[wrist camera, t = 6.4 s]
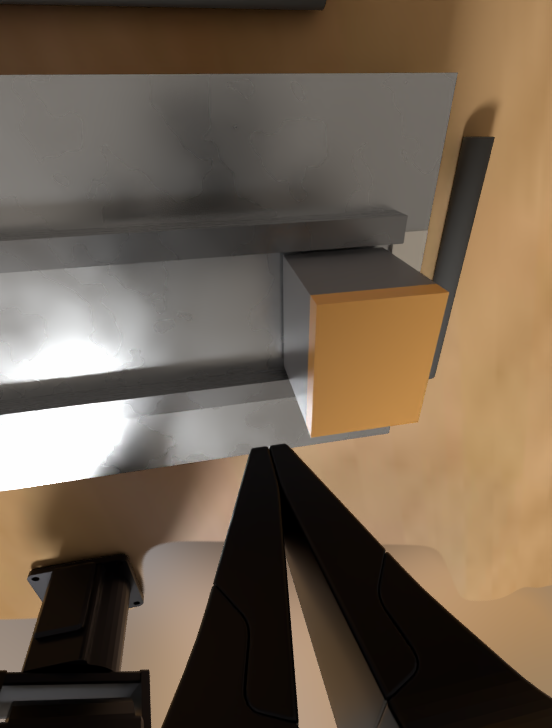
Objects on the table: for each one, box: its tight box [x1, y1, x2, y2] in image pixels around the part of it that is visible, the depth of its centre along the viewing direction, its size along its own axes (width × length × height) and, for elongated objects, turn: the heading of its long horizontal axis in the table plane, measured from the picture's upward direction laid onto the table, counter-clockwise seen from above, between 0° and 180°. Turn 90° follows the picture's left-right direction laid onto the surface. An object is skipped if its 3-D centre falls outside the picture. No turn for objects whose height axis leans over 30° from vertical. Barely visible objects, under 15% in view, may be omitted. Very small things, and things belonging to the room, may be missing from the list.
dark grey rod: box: [429, 137, 495, 379], centre depth 19 cm, size 12×1×1 cm, turn 1°
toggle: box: [283, 247, 449, 438], centre depth 14 cm, size 5×4×5 cm
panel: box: [0, 73, 458, 491], centre depth 16 cm, size 16×20×4 cm
